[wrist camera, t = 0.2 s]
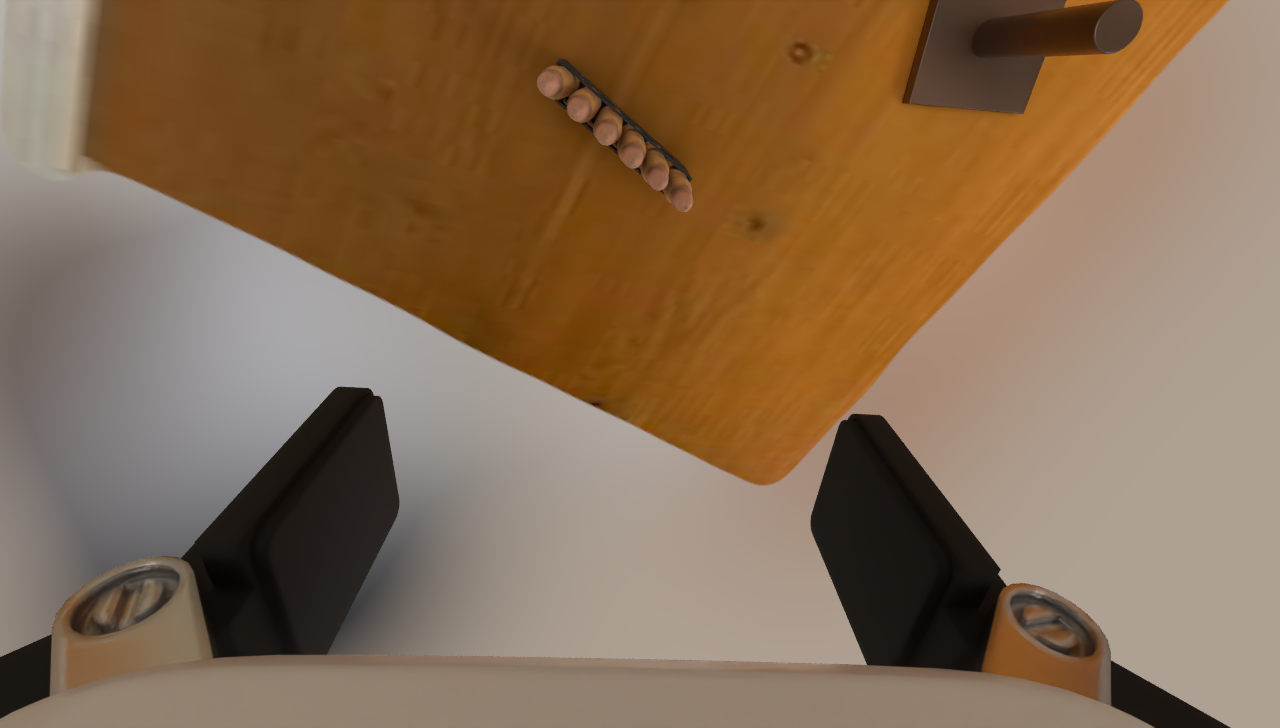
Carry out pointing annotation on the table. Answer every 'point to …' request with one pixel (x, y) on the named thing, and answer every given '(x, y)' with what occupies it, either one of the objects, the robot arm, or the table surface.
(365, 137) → the table surface
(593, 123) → the ammunition clip
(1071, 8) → the stand
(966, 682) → the robot arm
